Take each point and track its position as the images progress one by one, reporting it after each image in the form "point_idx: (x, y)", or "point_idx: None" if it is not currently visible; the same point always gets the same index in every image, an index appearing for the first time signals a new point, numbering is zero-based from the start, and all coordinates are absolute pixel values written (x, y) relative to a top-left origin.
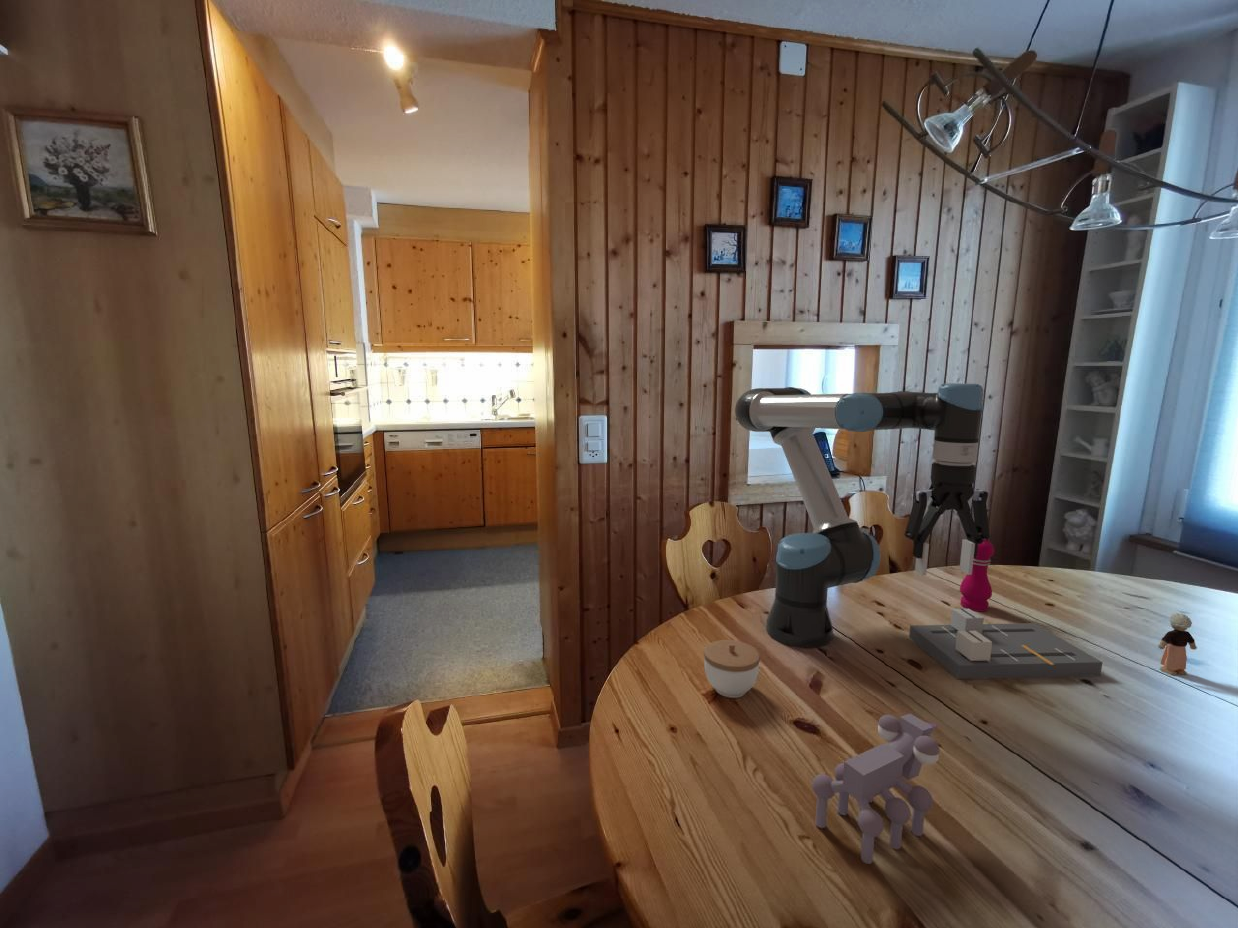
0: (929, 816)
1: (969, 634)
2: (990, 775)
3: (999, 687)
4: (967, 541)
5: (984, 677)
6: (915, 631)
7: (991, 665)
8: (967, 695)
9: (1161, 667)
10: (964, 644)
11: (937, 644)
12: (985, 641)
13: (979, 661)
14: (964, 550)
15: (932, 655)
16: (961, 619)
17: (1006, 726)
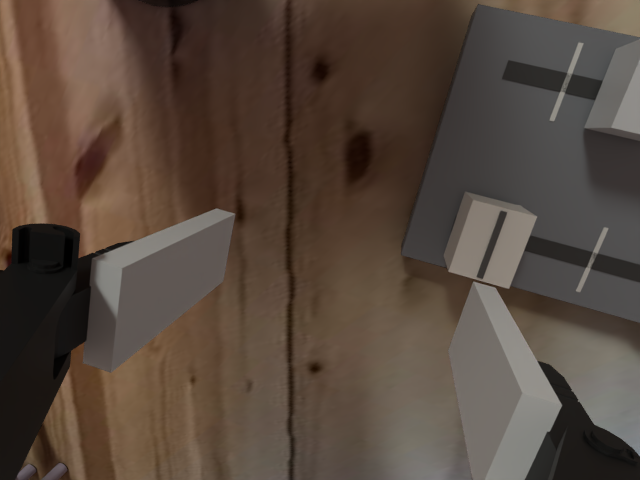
0: (89, 459)
1: (488, 230)
2: (213, 448)
3: (462, 301)
4: (502, 451)
5: None
6: (466, 41)
7: None
8: (362, 298)
9: None
10: (456, 233)
11: (446, 146)
12: (491, 280)
13: None
14: (488, 375)
15: (433, 142)
16: (614, 101)
17: (342, 390)
